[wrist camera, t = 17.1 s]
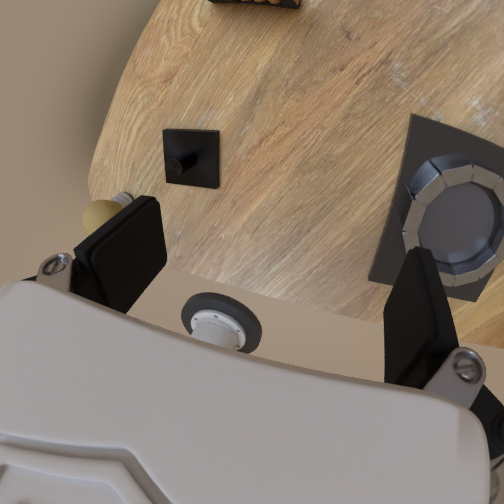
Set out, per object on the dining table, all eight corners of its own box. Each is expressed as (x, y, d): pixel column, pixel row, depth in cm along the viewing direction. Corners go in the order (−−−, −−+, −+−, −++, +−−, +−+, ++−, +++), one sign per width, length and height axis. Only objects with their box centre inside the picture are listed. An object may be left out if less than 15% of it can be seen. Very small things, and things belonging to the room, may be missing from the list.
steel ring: (421, 142, 27) (427, 147, 25) (523, 184, 24) (532, 192, 22) (385, 260, 37) (386, 272, 35) (478, 283, 34) (483, 294, 32)
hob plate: (474, 298, 36) (475, 302, 35) (367, 276, 40) (368, 281, 40) (532, 162, 22) (536, 165, 21) (410, 113, 26) (412, 114, 26)
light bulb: (108, 194, 46) (69, 222, 38) (126, 176, 43) (84, 204, 35) (128, 222, 48) (93, 254, 41) (148, 207, 45) (110, 239, 37)
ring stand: (219, 186, 39) (203, 201, 36) (169, 180, 41) (151, 193, 37) (218, 130, 35) (201, 139, 31) (166, 128, 36) (145, 137, 32)
